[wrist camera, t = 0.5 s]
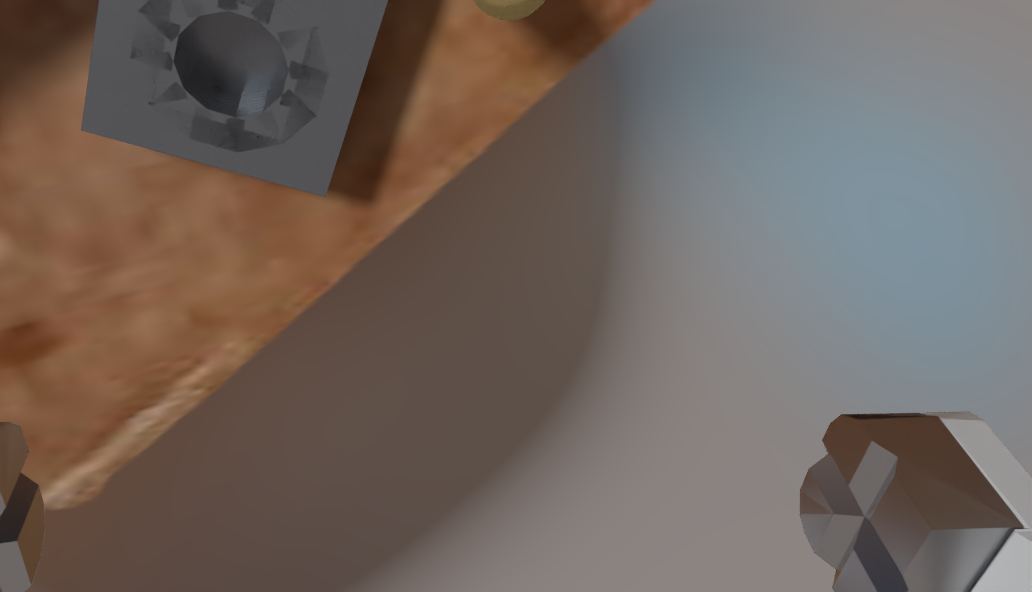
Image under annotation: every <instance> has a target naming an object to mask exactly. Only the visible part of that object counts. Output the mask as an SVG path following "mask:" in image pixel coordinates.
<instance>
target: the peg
mask: <svg viewBox="0 0 1032 592" xmlns="http://www.w3.org/2000/svg"><path fill="white" fill-rule="evenodd" d="M474 1H475V3H476V4H477V6H478V7H479V8H480V9H481V10H482V11H484V12H485V13H486V14H488V15H490V16H492V17H494V18H497V19H500V20H517V19H521V18H524V17H527V16H528V15H530V14H532V13H533V12H535V11H536V10H537V9H538V8H539V7H541V5H542V4H543V3H544V2H545V0H474Z"/></svg>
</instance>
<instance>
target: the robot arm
mask: <svg viewBox="0 0 1032 592" xmlns="http://www.w3.org/2000/svg"><path fill="white" fill-rule="evenodd" d="M822 441H823V443H824V445H825V448H826V450H827V452H828V455H826V456H825V457H824V458H822V459H821V460H820V461H818V462H817V463H816V464H814V465H813V466H812V467H811V468H809V470H808V472H807V475H806V477H805V479H804V482H803V484H802V487H801V489H800V516H801V520H802V524H803V528H804V532H805V534H806V537H807V539H808V541H809V543H810V545H811V547H812V549H813V551H814V553H816V554H817V555H818V556H819V557H820V558H822V559H823V560H824V561H826V562H827V563H828V564H830V565H831V566H832V567H834V568H835V569H836V573H835V578H834V583H833V587H832V588H833V590H834V592H1032V478H1031V477H1030V475H1029V474H1028V473H1027V472H1026V471H1025V470H1024V468H1023V467H1022V466H1021V465H1020V463H1019V462H1018V461H1017V460H1016V459H1015V457H1013V455H1012V454H1011V453H1010V452H1009V450H1008V449H1007V448H1006V447H1005V445H1004V444H1003V443H1002V442H1001V441H1000V439H999V438H998V437H997V436H996V435H995V433H994V432H993V431H992V430H991V429H990V428H989V426H988V425H987V424H986V423H985V422H984V421H983V420H982V419H981V418H979V417H977V416H975V415H974V414H972V413H970V412H937V413H936V412H934V413H933V412H932V413H925V414H921V413H896V414H895V413H890V414H842V415H840V416H839V417H838V418H836V419H835V420H834V421H833V422H831V424H830V425H829V427H828V429H827V431H826V433H825V436H824V438H823V440H822ZM28 453H29V450H28V447H27V444H26V441H25V439H24V436H23V433H22V430H21V427H20V426H18V425H16V424H13V423H10V422H0V592H24V591H25V590H27V589H28V588H29V587H30V586H31V585H32V582H33V579H34V576H35V573H36V570H37V567H38V564H39V562H40V559H41V553H42V546H43V539H44V532H45V514H44V502H43V499H42V495H41V491H40V488H39V485H38V484H36V483H35V482H33V481H32V480H31V479H29V478H28V477H27V476H25V475H24V474H22V473H21V470H22V467H23V465H24V463H25V460H26V458H27V456H28Z"/></svg>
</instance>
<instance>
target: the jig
mask: <svg viewBox="0 0 1032 592" xmlns="http://www.w3.org/2000/svg"><path fill="white" fill-rule="evenodd" d="M387 3H388V0H99V4H98V11H97V18H96V26H95V33H94V40H93V47H92V55H91V62H90V69H89V76H88V84H87V91H86V98H85V105H84V113H83V120H82V127H81V130H82V131H85V132H89V133H93V134H96V135H100V136H104V137H107V138H111V139H115V140H118V141H122V142H126V143H129V144H133V145H137V146H140V147H144V148H148V149H151V150H155V151H159V152H162V153H166V154H170V155H173V156H177V157H181V158H184V159H188V160H192V161H195V162H199V163H203V164H206V165H210V166H214V167H217V168H221V169H225V170H228V171H232V172H236V173H239V174H243V175H247V176H250V177H254V178H258V179H261V180H265V181H269V182H272V183H276V184H280V185H283V186H287V187H291V188H294V189H298V190H302V191H305V192H309V193H313V194H316V195H320V196H324V197H326V194H327V191H328V187H329V184H330V181H331V178H332V175H333V172H334V169H335V166H336V162H337V159H338V156H339V153H340V150H341V147H342V144H343V140H344V137H345V134H346V131H347V128H348V125H349V122H350V119H351V115H352V112H353V109H354V106H355V103H356V100H357V97H358V93H359V90H360V87H361V84H362V81H363V78H364V75H365V72H366V68H367V65H368V62H369V59H370V56H371V53H372V50H373V46H374V43H375V40H376V37H377V34H378V31H379V28H380V25H381V21H382V18H383V15H384V12H385V9H386V6H387Z"/></svg>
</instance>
